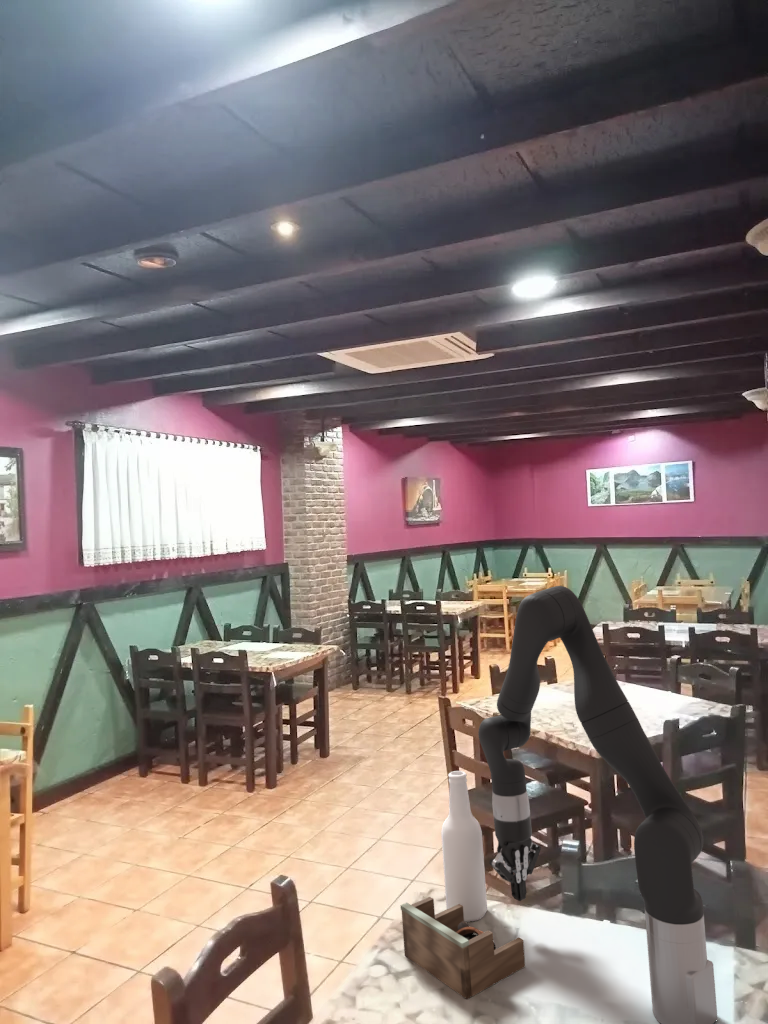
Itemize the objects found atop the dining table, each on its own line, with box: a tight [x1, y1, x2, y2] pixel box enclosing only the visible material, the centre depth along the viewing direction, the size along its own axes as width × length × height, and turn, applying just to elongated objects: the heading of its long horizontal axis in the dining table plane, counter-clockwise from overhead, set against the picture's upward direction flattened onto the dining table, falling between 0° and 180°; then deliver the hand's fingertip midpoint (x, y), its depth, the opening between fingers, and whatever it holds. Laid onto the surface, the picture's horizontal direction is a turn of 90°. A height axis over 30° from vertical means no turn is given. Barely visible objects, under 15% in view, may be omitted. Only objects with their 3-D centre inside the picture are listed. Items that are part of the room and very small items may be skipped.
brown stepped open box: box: [399, 896, 526, 1000], centre depth 142 cm, size 18×15×10 cm
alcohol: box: [440, 770, 488, 923], centre depth 161 cm, size 9×9×30 cm
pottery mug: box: [456, 921, 497, 950], centre depth 141 cm, size 12×10×8 cm
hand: (519, 898), depth 151 cm, fingers closed
